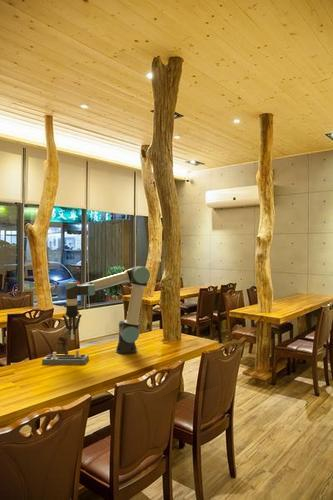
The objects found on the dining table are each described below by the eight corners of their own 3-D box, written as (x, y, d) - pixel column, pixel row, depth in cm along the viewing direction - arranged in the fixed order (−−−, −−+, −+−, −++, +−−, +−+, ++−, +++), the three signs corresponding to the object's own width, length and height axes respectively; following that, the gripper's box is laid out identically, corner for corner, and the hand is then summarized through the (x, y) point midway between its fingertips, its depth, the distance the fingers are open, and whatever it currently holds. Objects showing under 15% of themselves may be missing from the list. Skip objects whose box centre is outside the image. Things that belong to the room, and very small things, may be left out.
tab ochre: (80, 357, 245) (80, 349, 245) (79, 358, 241) (79, 350, 241) (75, 357, 244) (75, 349, 245) (73, 358, 241) (73, 350, 241)
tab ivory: (58, 359, 239) (58, 351, 239) (56, 360, 236) (56, 353, 236) (52, 359, 239) (52, 351, 239) (50, 360, 236) (50, 353, 236)
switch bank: (88, 359, 246) (88, 354, 246) (84, 364, 234) (84, 359, 234) (48, 358, 246) (48, 354, 246) (42, 364, 234) (42, 359, 234)
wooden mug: (63, 357, 250) (63, 331, 251) (52, 353, 259) (52, 328, 259) (73, 354, 257) (74, 329, 257) (63, 351, 266) (63, 327, 266)
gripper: (82, 303, 247) (83, 337, 247) (64, 304, 247) (64, 338, 247) (80, 305, 240) (80, 340, 239) (60, 305, 240) (61, 340, 239)
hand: (72, 339), depth 243 cm, fingers closed
